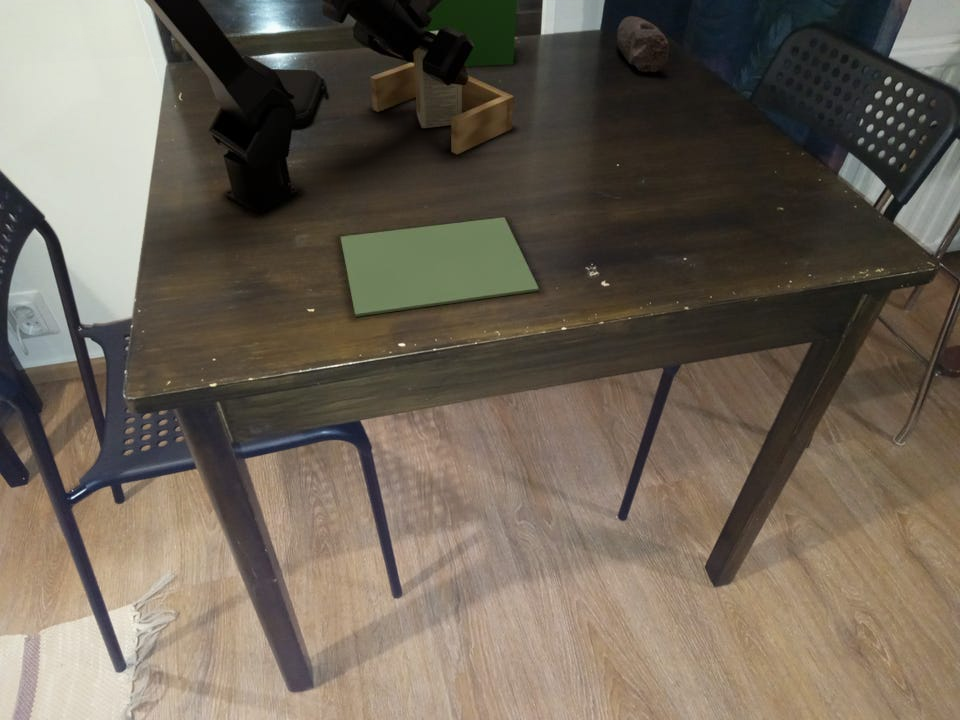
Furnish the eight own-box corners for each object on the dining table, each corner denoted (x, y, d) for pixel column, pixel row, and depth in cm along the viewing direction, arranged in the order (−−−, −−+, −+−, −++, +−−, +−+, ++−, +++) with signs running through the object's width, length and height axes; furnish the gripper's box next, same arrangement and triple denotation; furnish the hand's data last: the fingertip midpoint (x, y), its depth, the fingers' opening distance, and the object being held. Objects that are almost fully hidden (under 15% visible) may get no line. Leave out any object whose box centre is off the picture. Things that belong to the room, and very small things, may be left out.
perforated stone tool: (605, 45, 126) (612, 4, 121) (633, 44, 126) (640, 3, 122) (636, 80, 115) (644, 37, 110) (665, 78, 116) (675, 35, 111)
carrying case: (317, 130, 100) (332, 85, 111) (314, 109, 98) (330, 66, 108) (242, 128, 100) (265, 84, 110) (238, 107, 98) (261, 64, 108)
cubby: (457, 154, 96) (457, 120, 93) (372, 109, 105) (370, 76, 102) (511, 129, 102) (514, 96, 99) (427, 88, 111) (426, 56, 107)
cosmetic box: (456, 112, 106) (456, 28, 97) (462, 125, 103) (463, 40, 94) (414, 115, 104) (411, 30, 96) (419, 129, 101) (416, 43, 93)
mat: (355, 317, 72) (355, 314, 72) (340, 239, 82) (340, 236, 82) (538, 291, 76) (538, 288, 76) (504, 219, 86) (504, 217, 85)
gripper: (463, -35, 80) (521, 39, 93) (361, -71, 89) (428, 1, 102) (414, 53, 81) (478, 113, 95) (319, 9, 90) (390, 70, 104)
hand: (443, 71), depth 99 cm, fingers open, 9 cm apart
